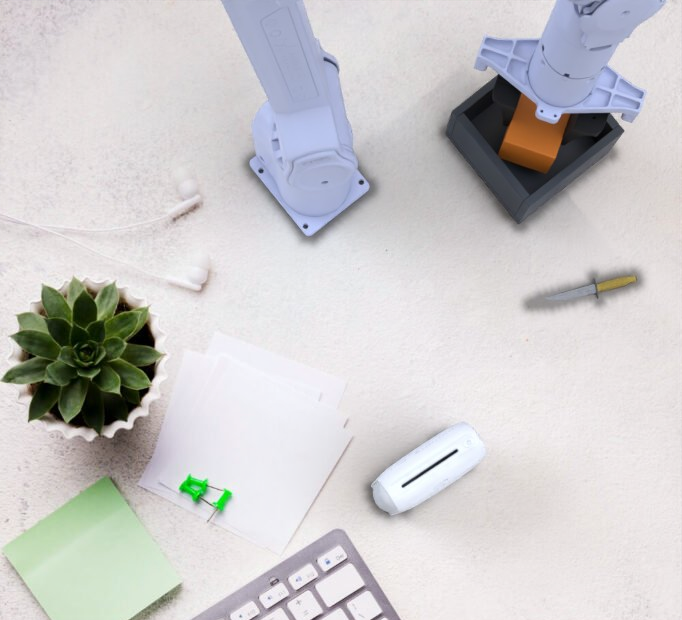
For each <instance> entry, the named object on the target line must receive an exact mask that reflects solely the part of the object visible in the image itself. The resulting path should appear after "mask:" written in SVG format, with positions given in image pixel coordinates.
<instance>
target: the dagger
mask: <svg viewBox="0 0 682 620" xmlns="http://www.w3.org/2000/svg"><path fill="white" fill-rule="evenodd" d="M637 280H638V277H637V275H635V274H632V275H631V276H620V277H616V278H612V279H608V280H605V281H602V282H599V283H597V280H596V278H595V277H593V278H592V281H593V283H592V284H588V285H584V286H580V287H578V288H574V289H571V290H568V291H564V292H560V293H557V294H553V295H549V296H546V297H545V300H548V301H566V300H572V299H576V298H577V299H579V298H582V297H586V296H591V295H594V294H595V295H596V299H599V298H600V297H599V292H604V291H608V290H613V289H617V288H622V287H624V286H628V285H629V284H630V283H631V284H632V283H636V281H637Z"/></svg>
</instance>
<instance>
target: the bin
mask: <svg viewBox="0 0 682 620" xmlns="http://www.w3.org/2000/svg"><path fill="white" fill-rule="evenodd" d="M497 77H498V74H496V75H495V76H494V77H492V78H491V79H490V80H489V81H488V82H486V83H485V84H484V85H483V86H481V87H480V88H479V89H478V90H476V91H475V92H474V93H472V94H471V95H470V96H468V97H467V98H466V99H465V100H464V101H462V102H461V103H460V104H459V105H457V106H456V107H455V108H453V109H452V110H451V112H450V116H449V119H448V123H447V127H446V130H445V135H446V136H447V138H449V140H450V141H451V142H452V144H453V145H454V146H455V148H456V149H457V150H458V151H459V152H460V154H461V155H462V156H463V158H464V159H465V160H466V161H467V162H468V164H469V165H470V166H471V167H472V169H473V170H474V171H475V172H476V173H477V175H478V176H479V177H480V179H481V180H482V181H483V183H485V185H486V186H487V187H488V188H489V190H490V191H491V192H492V193H493V195H494V196H495V197H496V198H497V200H498V201H499V202H500V203H501V204H502V206H503V207H504V208H505V210H506V211H508V213H509V215H510V216H511V217H512V218H513V219H514V221H515V222H516V223H517V224H518V225H520V224H521V223H522V222H524V221H525V220H526V219H527V218H529V217H530V216H531V215H532V214H533V213H535V212H536V211H537V210H539V209H540V208H541V207H542V206H543V205H545V204H547V202H549V201H550V200H551V199H553V198H554V197H555V196H556V195H557V194H559V193H561V191H562V190H564V189H565V188H567V186H569V185H570V184H572V183H573V182H574V181H575V180H576V179H578V178H579V177H580V176H581V175H583V174H584V173H585V172H587V171H588V170H589V169H591V167H593V166H594V165H595V164H597V162H599V161H600V160H601V159H603V158H604V157H605V156H606V155H608V154H609V153H610V151H611V150H612V149H613V147H614V146H615V145H616V144H617V142H618V141H619V139H620V138H621V137H622V135H623V134H624V132H625V129H624V128H623V127H622V125H620V123H619V122H618V121H617V119H616V118H615V117H614V115H613V113H610V114H609V115H608V118H607V121H606V124H605V126H604V128H603V130H602V131H601V132H600V133H599V134H598V135H597V136H596V137H595V136H582V137H579V138H576V139H574V140H572V141H570V142H569V143H567V144H566V145H564V146H563V145H560V147H559V150H558V153H557V156H556V158H555V160H554V162H553V163H552V165H551V167H550V168H549V170H548V172H547V173H546V174H544V173H541V172H539V171H536V170H533V169H530V168H527V167H524V166H521V165H518V164H515V163H513V162H510V161H507V160H504V159H501V158H500V157H499V156H498V154H499V151H500V148H501V145H502V142H503V139H504V136H505V133H506V130H507V127H508V126H505V125H503V116H502V112H501V109H500V107H499V106H498V104H497V103H495V102H494V101H493V98H492V93H493V88H494V85H495V82H496V79H497Z"/></svg>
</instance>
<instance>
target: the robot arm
mask: <svg viewBox="0 0 682 620" xmlns="http://www.w3.org/2000/svg"><path fill="white" fill-rule="evenodd" d="M220 2H221V4H222V7H223V8H224V10H225V13H226V14H227V17H228V18H229V20H230V23H231V25H232V27H233V29H234V31H235V33H236V36H237V38H238V40H239V42H240V44H241V46H242V48H243V50H244V52H245V54H246V56H247V58H248V60H249V63H250V64H251V67H252V69H253V71H254V73H255V75H256V77H257V80H258V82H259V83H260V85H261V88H262V90H263V92H264V94H265V97H266V98H267V100H266V101H265V102H264V103H263V104H262V105H261V106H260V108H259V109H258V110H257V112H256V113H255V115H254V117H253V120H252V122H251V125H250V126H251V127H250V130H251V136H252V141H253V145H254V151H255V156H253V157H252V158H251V159H250V160H249V166H250V168H251V169H252V171H253V172H254V173H255V174H256V175H257V177H258V178H259V180H260V181H261V182H262V183H263V185H264V186H265V187H266V189H267V190H269V192H270V193H271V195H272V196H273V197H274V198H275V199H276V201H277V202H278V203H279V204H280V205H281V207H282V208H283V210H284V211H285V212H286V213H287V215H289V217H290V218H291V219H292V221H294V224H296V226H298V228H299V229H300V230H301V232H302V233H303V235H305V236H306V237H311V236H313V235H314V234H316V233H317V232H319V231H320V230H321V229H322V228H323V227H325V226H327V224H328V223H330V221H332V220H333V219H335V218H336V217H337V216H339V215H340V214H341V213H342V212H343V211H345V210H346V209H347V208H349V207H350V206H351V205H352V204H353V203H355V202H356V201H357V200H359V199H360V198H361V197H363V195H365V194H366V193H368V192H369V190H370V183H369V182H368V180H367V179H366V178H365V177H364V176H363V174H362V173H361V172H360V171H359V170H358V167H359V162H358V158H357V156H356V154H355V152H354V151H355V150H354V133H353V128H352V125H351V123H350V120H349V118H348V116H347V111H346V106H345V99H344V95H343V89H342V85H341V80H340V69H341V68H340V65H339V61H338V60H337V58H336V57H335V55H333V54H331V53H330V52H327V51H326V50H325V49H324V48H323V47H322V44H321V42H320V39H319V38H317V37H315V34H314V30H313V27H312V24H311V22H310V21H311V20H310V17H309V15H308V12H307V9H306V5H305V2H304V0H220ZM667 2H668V0H556V1H555V3H554V6H553V8H552V10H551V13H550V15H549V18H548V19H547V23H546V24H545V27H544V29H543V31H542V33H541V36H540V37H529V38H527V37H525V38H524V37H523V38H521V37H520V38H519V37H517V38H506V37H505V38H503V37H495V36H491V35H488V34H484V36H483V37H482V41H481V44H480V46H479V50H478V52H477V55H476V58H475V61H474V65H473V69H475V70H478V71H480V72H485V71H487V68H488V67H489V68H490V69H492V70H493V71H494V72H496V73H497V75H498V77H497V79H496V82H495V85H494V88H493V93H492V98H493V101H494V102H495V103H497V104H498V106H499V107H500V109H501V112H502V116H503V125H505V126H509V125H510V122H511V120H512V117H513V114H514V111H515V109H516V108H517V105H518V102H519V99H520V96H521V93H523V94H524V95H526V96H527V97H528V98H529V99H530V100H532V101H533V102H534V103H535V104H536V105H537V109H536V112H535V115H536V117H537V118H538V119H540V120H543V121H546V122H549V123H551V124H555V123H557V122H558V120H559V119H560V117H561V114H563V113H571V115H570V118H569V121H568V124H567V126H566V129H565V132H564V135H563V138H562V141H561V144H560V145H563V146H564V145H566V144H567V143H569V142H570V141H572V140H574V139H576V138H579V137H582V136H595V137H596V136H597V135H598V134H599V133H600V132H601V131H602V130H603V128H604V126H605V124H606V121H607V118H608V115H609V114H610V113H611V114H621V116H620V119H621V120H622V121H624V122H627V123H630V124H633V122H634V121H635V120H636V119H637V117H638V116H639V115H640V113H641V111H642V108H643V105H644V102H645V99H646V97H647V94H648V91H647V90H646V89H643V88H640V87H638V86H637V85H635V84H633V83H632V82H630V81H629V80H627V79H626V78H625V77H624V76H622V74H620V73H619V72H617V71H616V70H615V69H614V68H613V67H611V66H610V65H609V62H610V60H611V58H612V57H613V55H614V54H615V53H616V50H617V49H618V47H619V45H620V44H621V43H623V42H624V41H625V40H626V39H629V38H630V37H631V35H632V34H633V32H634V31H635V29H636V28H638V26H640V25H641V24H642V23H645V22H646V21H647V20H649V19H651V18H652V17H654V15H656V14H657V13H658V12H659V11H660V10H662V9H663V7H664V6H665V5H666V4H667ZM260 171H262V172H260ZM360 182H363V183H362V184H360ZM304 226H307V228H304Z"/></svg>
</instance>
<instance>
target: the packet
mask: <svg viewBox="0 0 682 620" xmlns="http://www.w3.org/2000/svg"><path fill="white" fill-rule="evenodd" d="M536 109H537V105H536V104H535V103H534V102H533V101H532V100H530V99H529V98H528V97H527V96H526V95H524V94H523V93H521V96H520V99H519V102H518V105H517V108H516V109H515V111H514V114H513V117H512V120H511V122H510V125H509V126H508V127H507V130H506V133H505V136H504V139H503V142H502V145H501V148H500V151H499V154H498V156H499V157H500V158H501V159H504V160H507V161H510V162H513V163H515V164H518V165H521V166H524V167H527V168H530V169H533V170H536V171H539V172H541V173H544V174H546V173H547V172H548V170H549V168H550V167H551V165H552V163H553V162H554V160H555V158H556V156H557V153H558V150H559V147H560V144H561V141H562V138H563V135H564V132H565V129H566V126H567V124H568V121H569V118H570V115H571V113H563V114H561V117H560V119H559V120H558V122H557V123H555V124H551V123H549V122H546V121H543V120H540V119H538V118H537V117H536V115H535V112H536Z"/></svg>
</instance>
